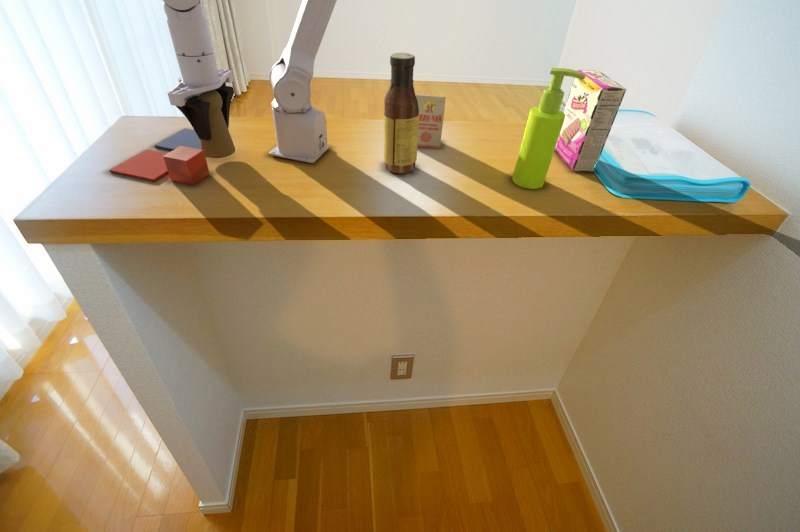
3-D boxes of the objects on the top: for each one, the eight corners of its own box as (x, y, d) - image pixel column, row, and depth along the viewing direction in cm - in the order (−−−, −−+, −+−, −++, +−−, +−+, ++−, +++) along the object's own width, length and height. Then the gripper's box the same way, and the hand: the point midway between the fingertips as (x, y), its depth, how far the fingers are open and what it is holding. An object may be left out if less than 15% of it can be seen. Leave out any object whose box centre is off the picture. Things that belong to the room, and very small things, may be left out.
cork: (225, 160, 75) (210, 98, 68) (194, 155, 76) (177, 94, 69) (241, 146, 80) (229, 87, 73) (212, 142, 80) (197, 83, 73)
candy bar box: (550, 148, 91) (575, 68, 81) (572, 148, 92) (599, 69, 81) (571, 172, 83) (602, 87, 72) (595, 172, 83) (629, 88, 73)
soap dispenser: (547, 193, 76) (586, 77, 63) (510, 184, 77) (539, 70, 64) (550, 179, 80) (586, 68, 67) (514, 171, 82) (543, 62, 69)
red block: (209, 173, 74) (203, 149, 71) (193, 185, 70) (186, 161, 67) (187, 169, 74) (180, 145, 72) (170, 180, 71) (162, 156, 68)
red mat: (188, 159, 77) (188, 157, 77) (154, 181, 70) (153, 179, 70) (147, 151, 79) (146, 149, 78) (109, 172, 72) (109, 169, 72)
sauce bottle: (420, 165, 81) (431, 54, 68) (407, 178, 77) (416, 63, 64) (390, 157, 83) (395, 48, 70) (376, 169, 79) (378, 55, 66)
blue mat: (223, 137, 85) (222, 135, 85) (195, 155, 79) (194, 153, 78) (185, 130, 87) (184, 128, 87) (154, 147, 80) (154, 145, 80)
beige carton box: (408, 138, 91) (412, 91, 84) (439, 140, 91) (445, 94, 84) (408, 145, 88) (411, 97, 81) (439, 148, 88) (445, 100, 81)
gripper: (201, 39, 73) (218, 116, 82) (140, 59, 62) (168, 145, 71) (236, 44, 72) (250, 121, 81) (181, 65, 61) (204, 152, 70)
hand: (214, 133), depth 76 cm, fingers closed on cork, 5 cm apart
